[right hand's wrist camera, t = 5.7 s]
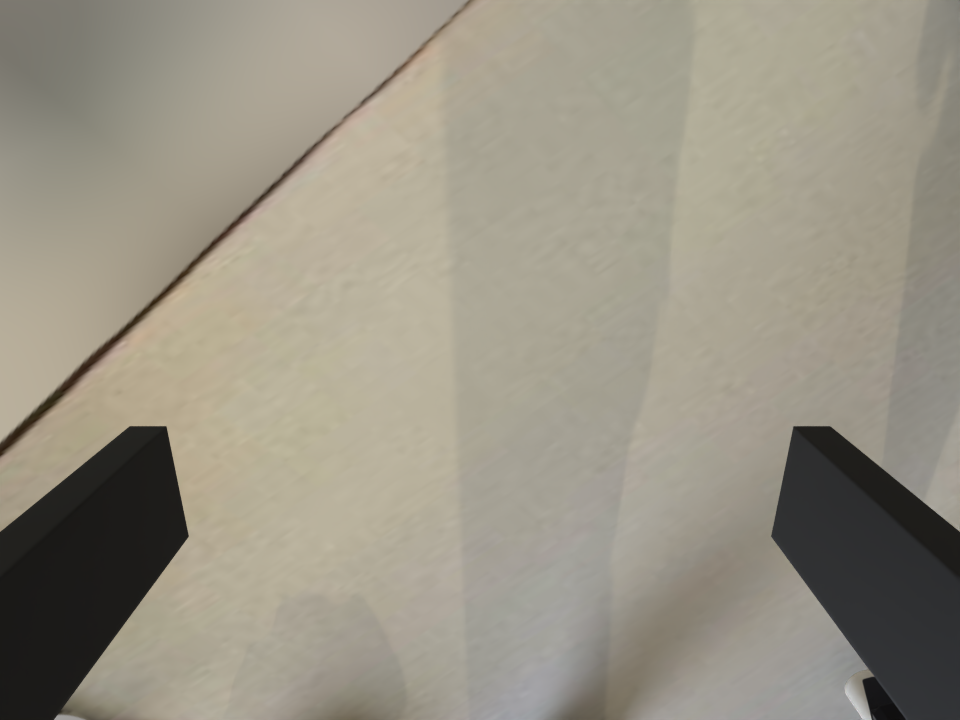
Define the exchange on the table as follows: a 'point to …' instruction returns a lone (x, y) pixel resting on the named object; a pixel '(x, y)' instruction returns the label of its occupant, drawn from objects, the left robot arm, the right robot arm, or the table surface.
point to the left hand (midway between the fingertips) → (872, 695)
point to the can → (859, 693)
